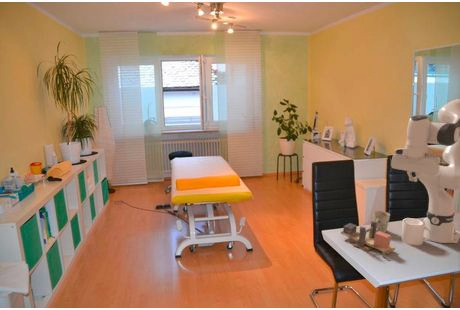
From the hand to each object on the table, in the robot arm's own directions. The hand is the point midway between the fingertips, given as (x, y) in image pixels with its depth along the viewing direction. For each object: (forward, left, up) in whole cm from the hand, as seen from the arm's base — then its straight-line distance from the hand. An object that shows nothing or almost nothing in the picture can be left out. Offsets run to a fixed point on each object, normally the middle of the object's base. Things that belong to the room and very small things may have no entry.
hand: (413, 181), depth 161 cm
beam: (+4, -18, -35) cm, 40 cm away
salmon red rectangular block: (+4, -10, -34) cm, 36 cm away
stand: (+4, -14, -37) cm, 40 cm away
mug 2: (-18, -4, -37) cm, 42 cm away
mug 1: (-16, -22, -37) cm, 46 cm away
